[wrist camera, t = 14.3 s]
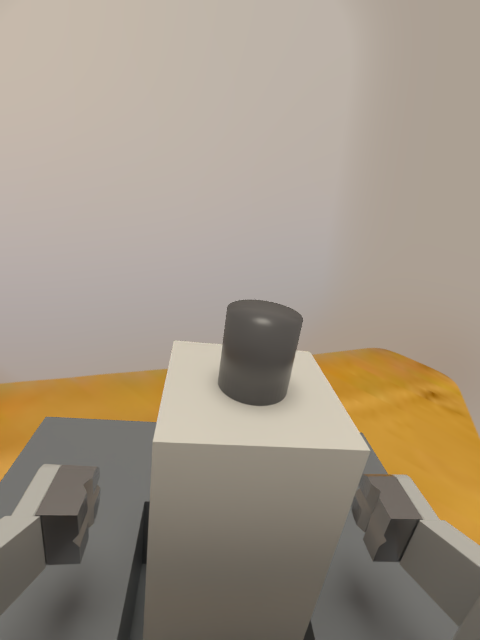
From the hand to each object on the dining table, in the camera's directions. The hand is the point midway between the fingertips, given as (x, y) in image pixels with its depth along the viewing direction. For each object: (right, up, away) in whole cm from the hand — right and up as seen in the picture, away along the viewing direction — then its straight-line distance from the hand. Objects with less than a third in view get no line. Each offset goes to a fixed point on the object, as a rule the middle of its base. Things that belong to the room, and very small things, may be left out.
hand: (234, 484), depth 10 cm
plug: (-1, -8, +3) cm, 8 cm away
